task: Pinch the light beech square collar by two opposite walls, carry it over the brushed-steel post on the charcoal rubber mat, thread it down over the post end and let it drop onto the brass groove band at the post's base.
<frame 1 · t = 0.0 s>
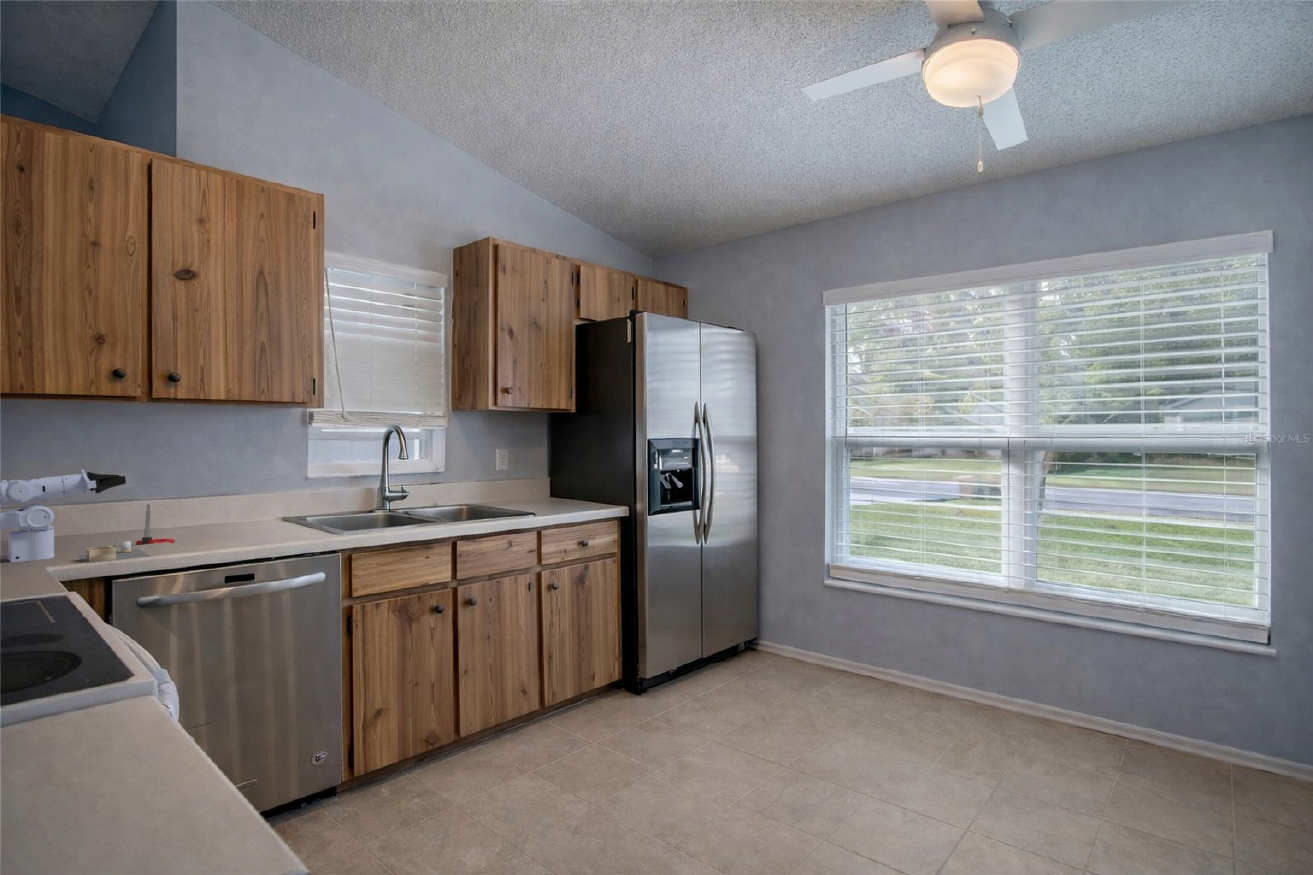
hand: (122, 479, 203), 22 cm above the countertop, tool horizontal, fingers open, 7 cm apart
collar: (100, 559, 188), point 1 cm above the countertop, touching post mat
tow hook: (157, 544, 220), on the countertop
post mat: (113, 559, 193), on the countertop
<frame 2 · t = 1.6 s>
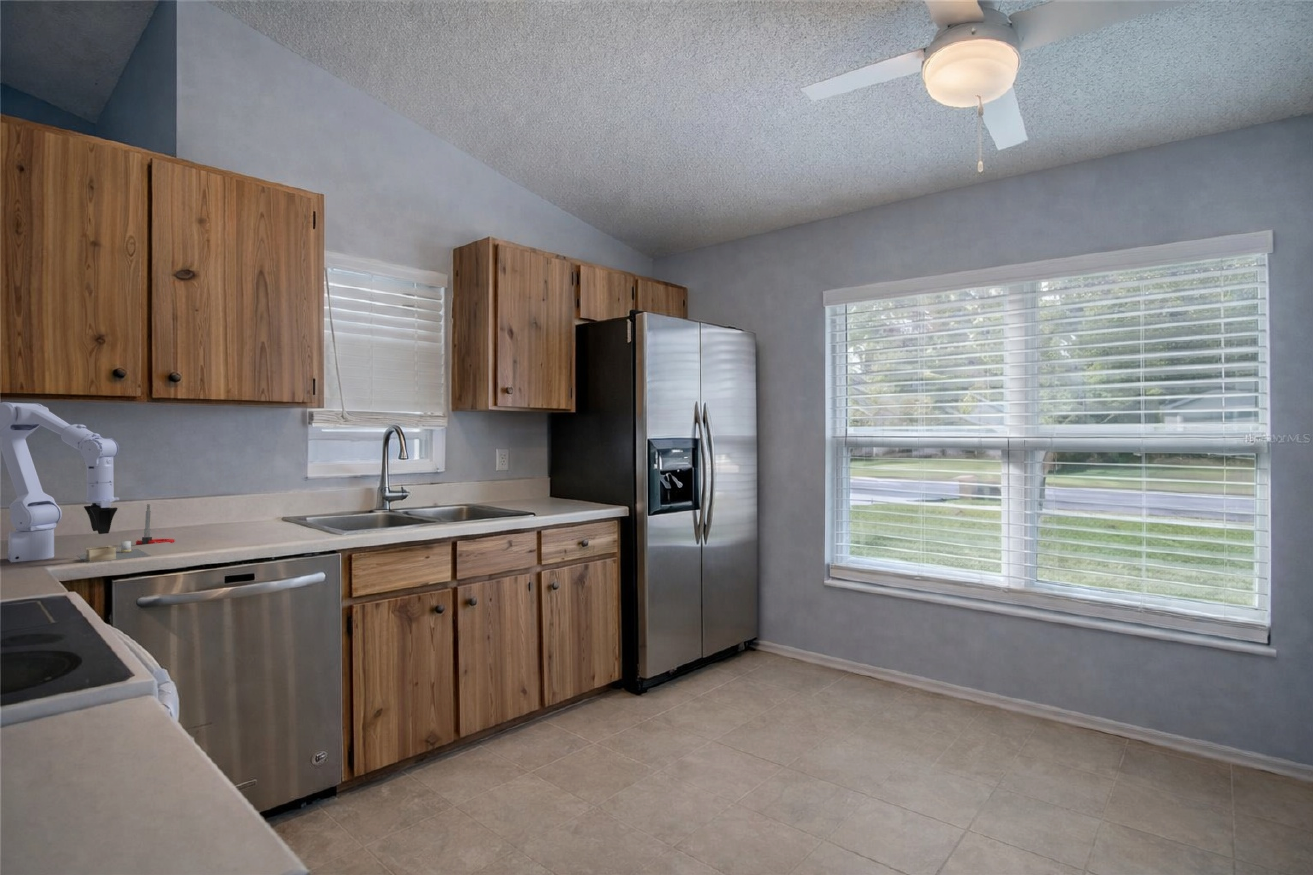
hand: (100, 532, 188), 8 cm above the countertop, tool pointing down, fingers open, 7 cm apart
nothing on the countertop moved.
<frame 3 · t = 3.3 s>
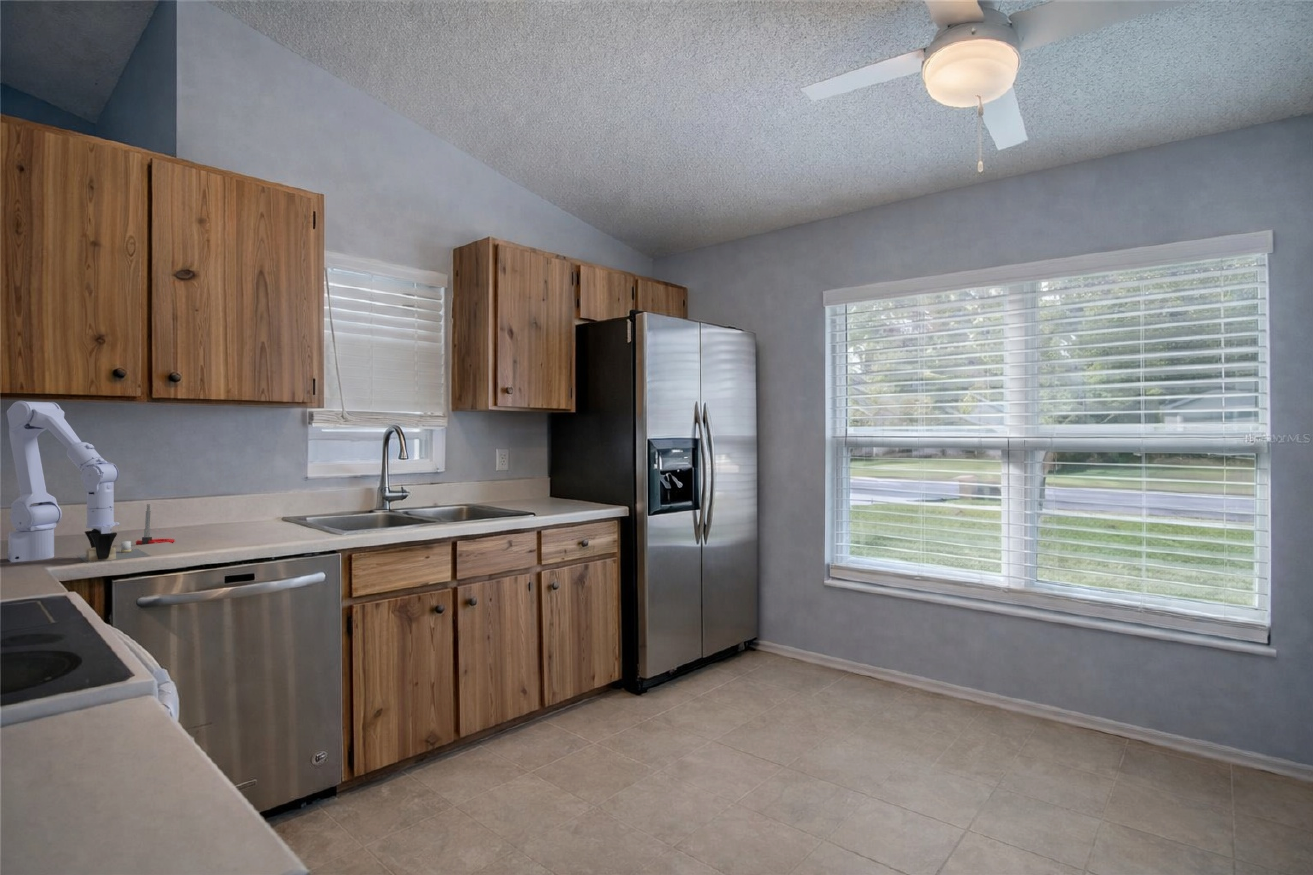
hand: (100, 557, 188), 2 cm above the countertop, tool pointing down, fingers closed on collar, 6 cm apart
collar: (100, 559, 188), point 1 cm above the countertop, touching gripper, post mat
everything else where it was.
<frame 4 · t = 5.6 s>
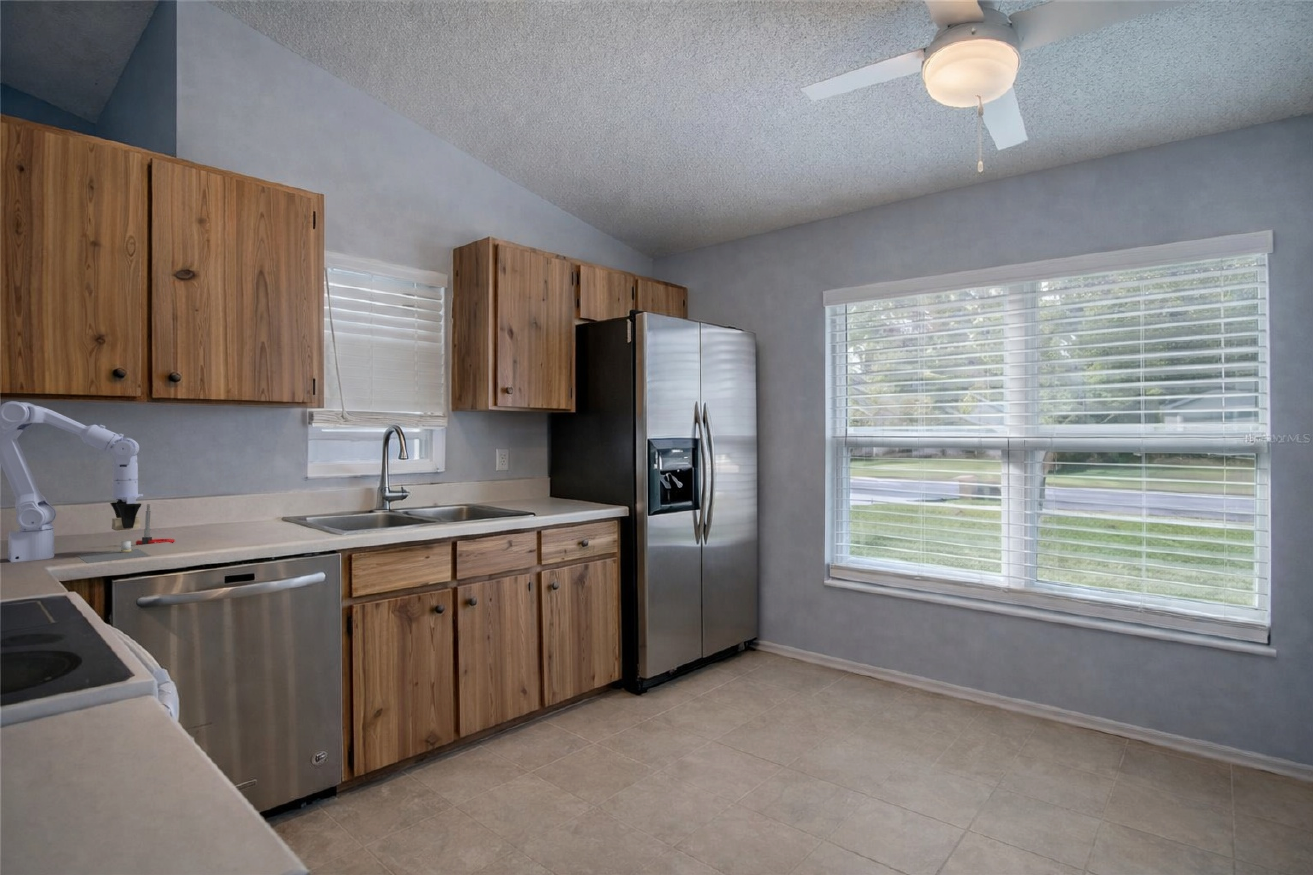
hand: (125, 526, 198), 8 cm above the countertop, tool pointing down, fingers closed on collar, 6 cm apart
collar: (126, 528, 198), point 8 cm above the countertop, touching gripper
everything else where it was.
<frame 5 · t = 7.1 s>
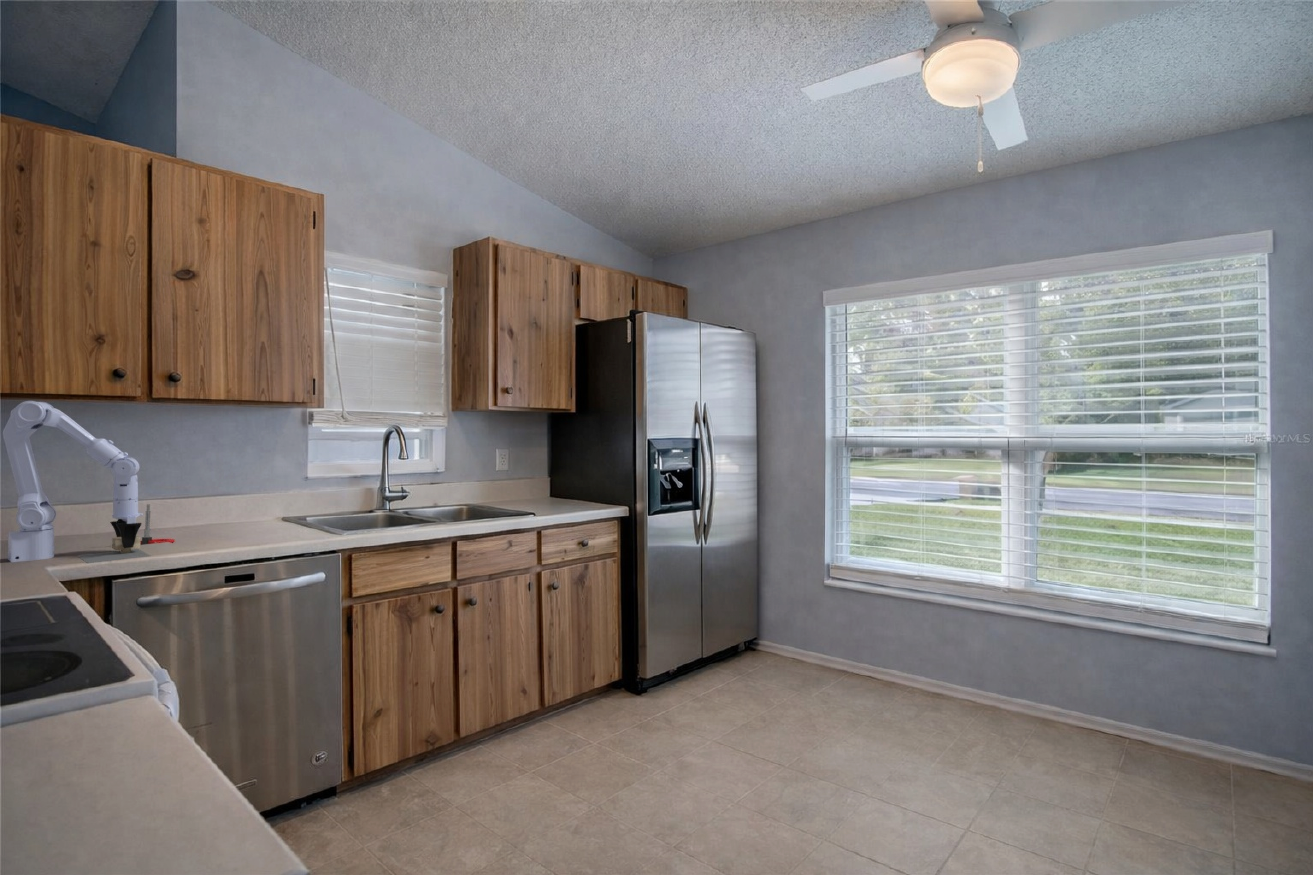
hand: (126, 546, 198), 3 cm above the countertop, tool pointing down, fingers closed on collar, 6 cm apart
collar: (126, 547, 198), point 2 cm above the countertop, touching gripper
everything else where it was.
when the fingers open (3 cm above the countertop, at t = 8.1 s): collar drops 1 cm, resting on post mat.
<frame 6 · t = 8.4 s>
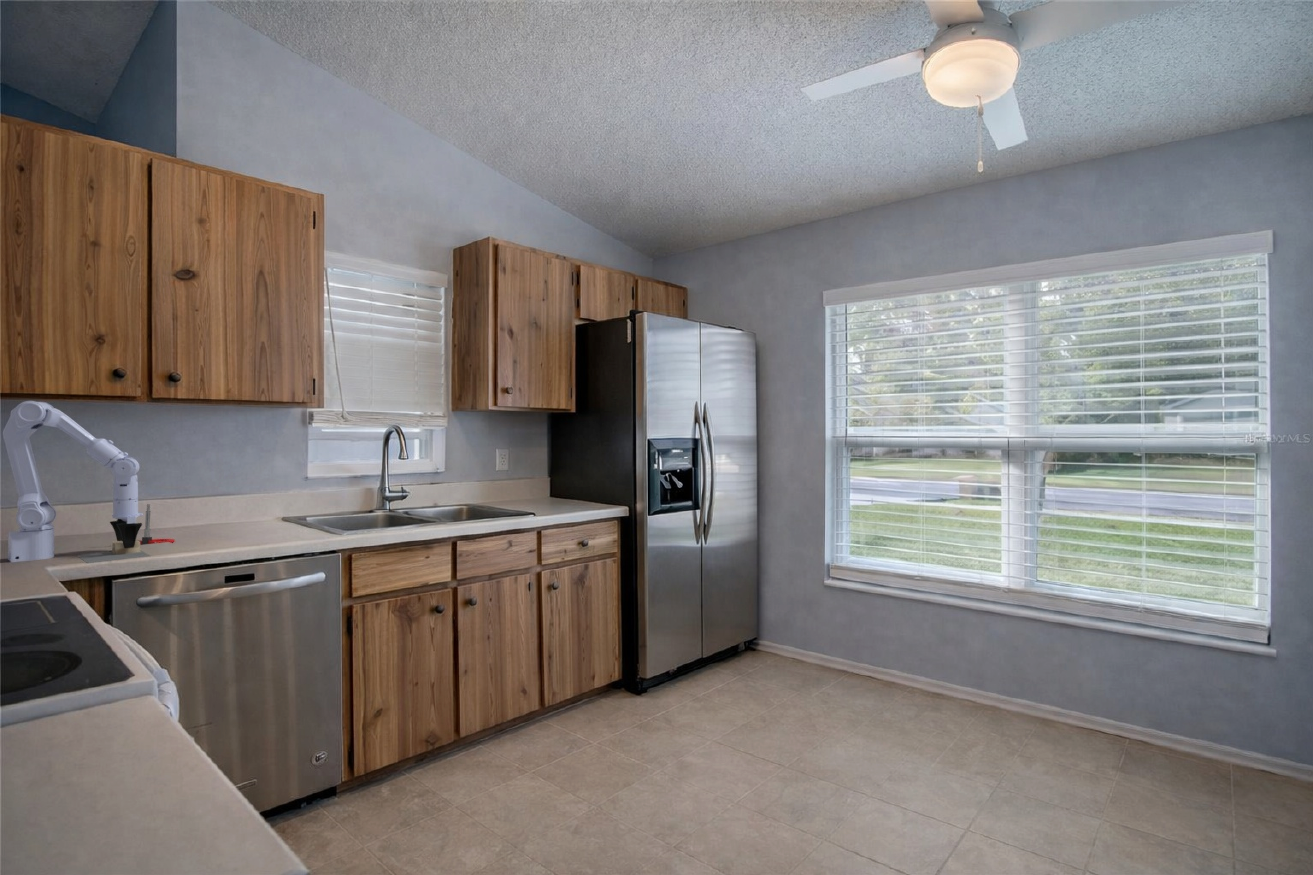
hand: (126, 546, 198), 3 cm above the countertop, tool pointing down, fingers open, 7 cm apart
collar: (126, 552, 198), point 1 cm above the countertop, touching post mat
everything else where it was.
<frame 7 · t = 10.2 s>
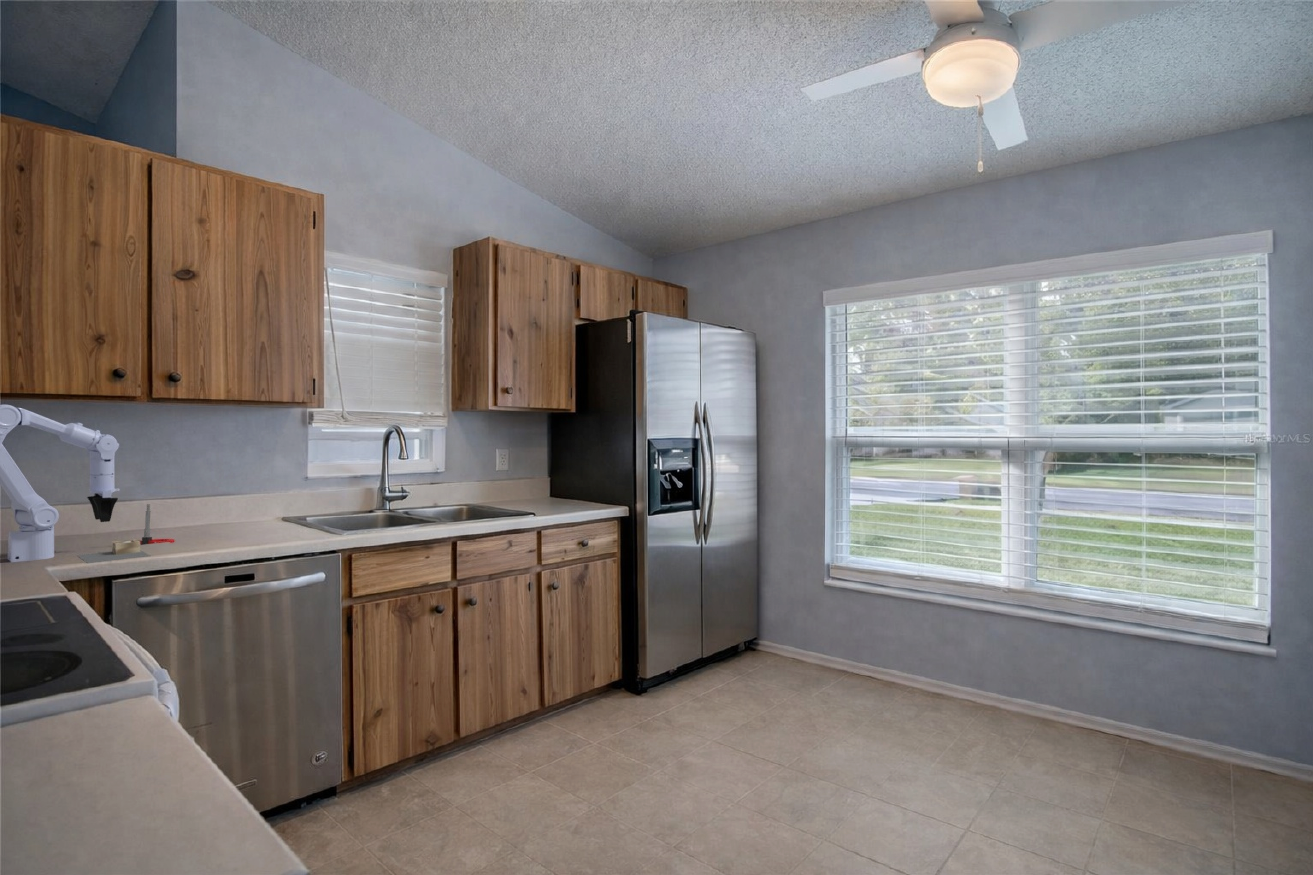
hand: (102, 520, 203), 9 cm above the countertop, tool pointing down, fingers open, 7 cm apart
nothing on the countertop moved.
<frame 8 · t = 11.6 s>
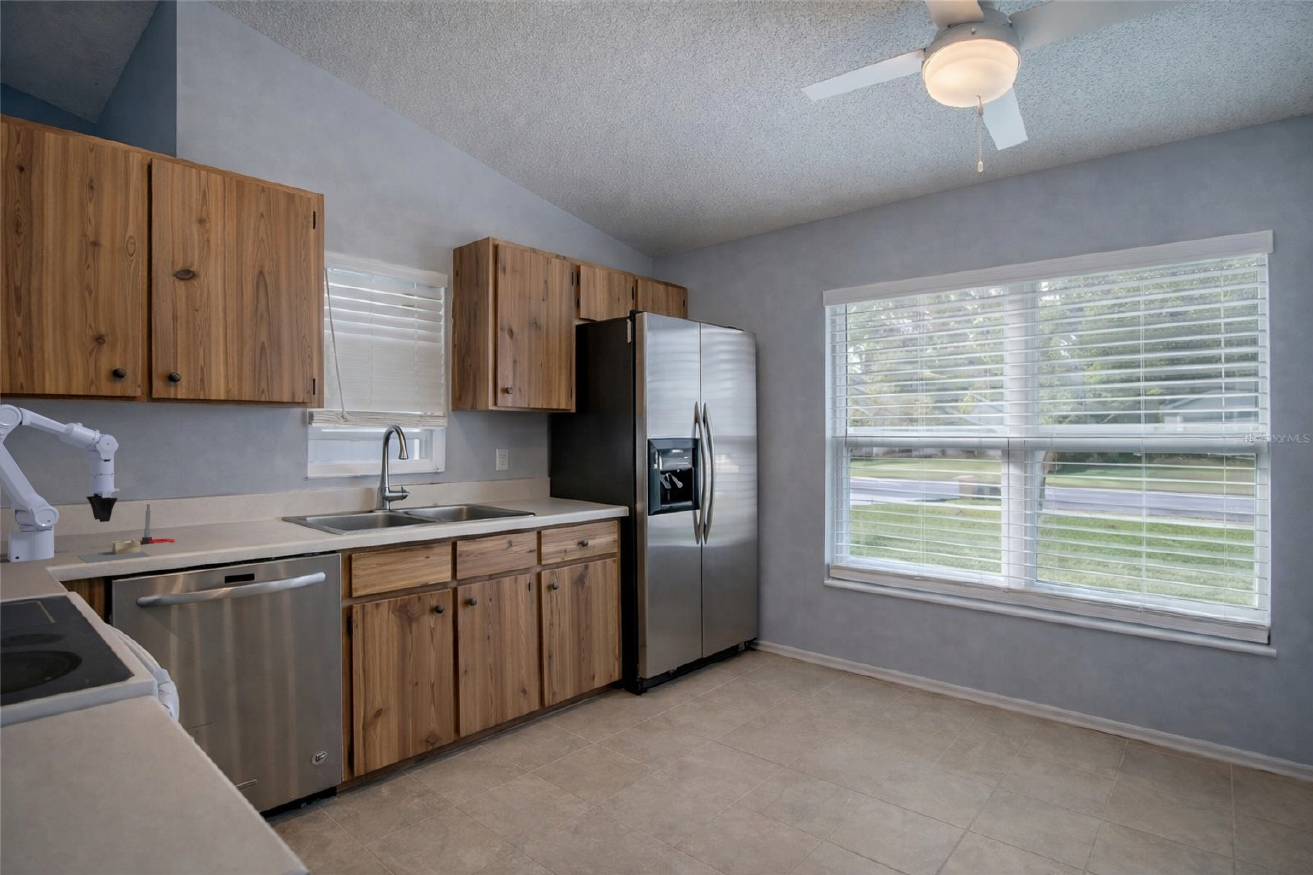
hand: (102, 520, 204), 9 cm above the countertop, tool pointing down, fingers open, 7 cm apart
nothing on the countertop moved.
at the end: collar 0.0 cm from the target spot on the post mat, point 1.0 cm above the post mat's base; collar tilted 0°; the gripper is holding nothing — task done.
